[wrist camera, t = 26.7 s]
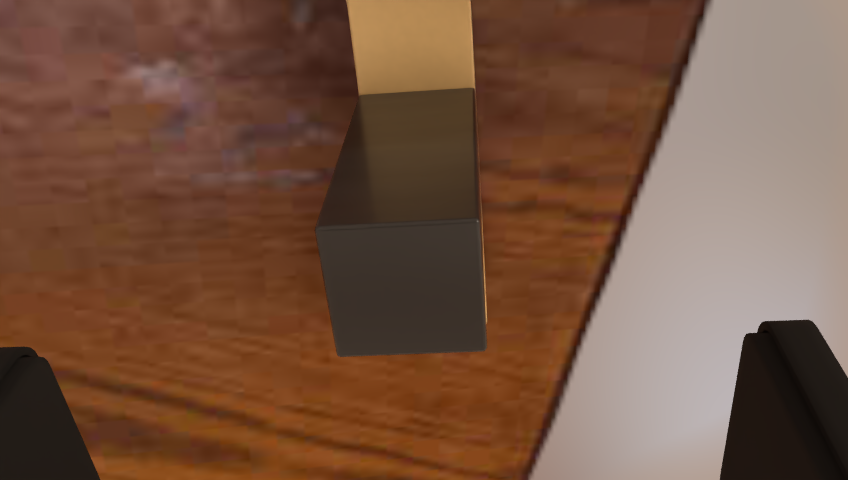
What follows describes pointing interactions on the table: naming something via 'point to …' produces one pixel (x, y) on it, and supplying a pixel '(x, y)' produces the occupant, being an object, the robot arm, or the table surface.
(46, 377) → the robot arm
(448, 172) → the brush
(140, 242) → the table surface
